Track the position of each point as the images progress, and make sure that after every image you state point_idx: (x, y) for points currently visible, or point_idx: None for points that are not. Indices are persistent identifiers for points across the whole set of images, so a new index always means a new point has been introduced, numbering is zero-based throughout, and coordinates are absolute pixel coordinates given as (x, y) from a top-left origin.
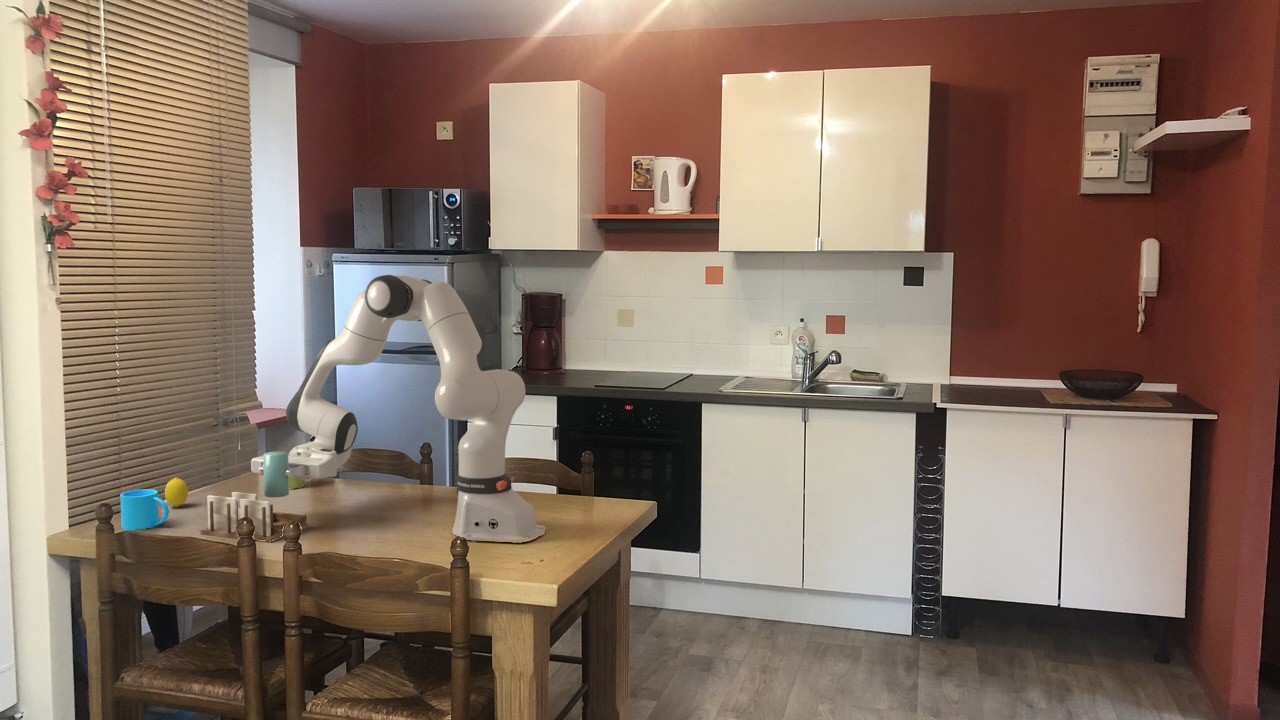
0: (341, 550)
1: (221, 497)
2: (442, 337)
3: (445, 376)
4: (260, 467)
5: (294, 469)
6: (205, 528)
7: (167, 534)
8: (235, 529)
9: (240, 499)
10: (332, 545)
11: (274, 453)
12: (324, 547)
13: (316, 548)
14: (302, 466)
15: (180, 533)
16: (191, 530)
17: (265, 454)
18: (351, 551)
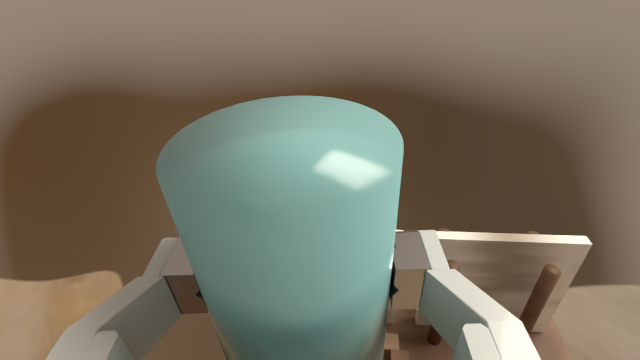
0: (33, 293)
1: (502, 233)
2: None
3: None
4: (434, 238)
5: (138, 279)
6: (551, 324)
7: (624, 285)
8: (416, 311)
9: (400, 230)
10: (59, 326)
11: (300, 142)
12: (85, 303)
13: (109, 290)
14: (58, 353)
15: (606, 304)
16: (624, 344)
17: (352, 110)
18: (3, 293)
